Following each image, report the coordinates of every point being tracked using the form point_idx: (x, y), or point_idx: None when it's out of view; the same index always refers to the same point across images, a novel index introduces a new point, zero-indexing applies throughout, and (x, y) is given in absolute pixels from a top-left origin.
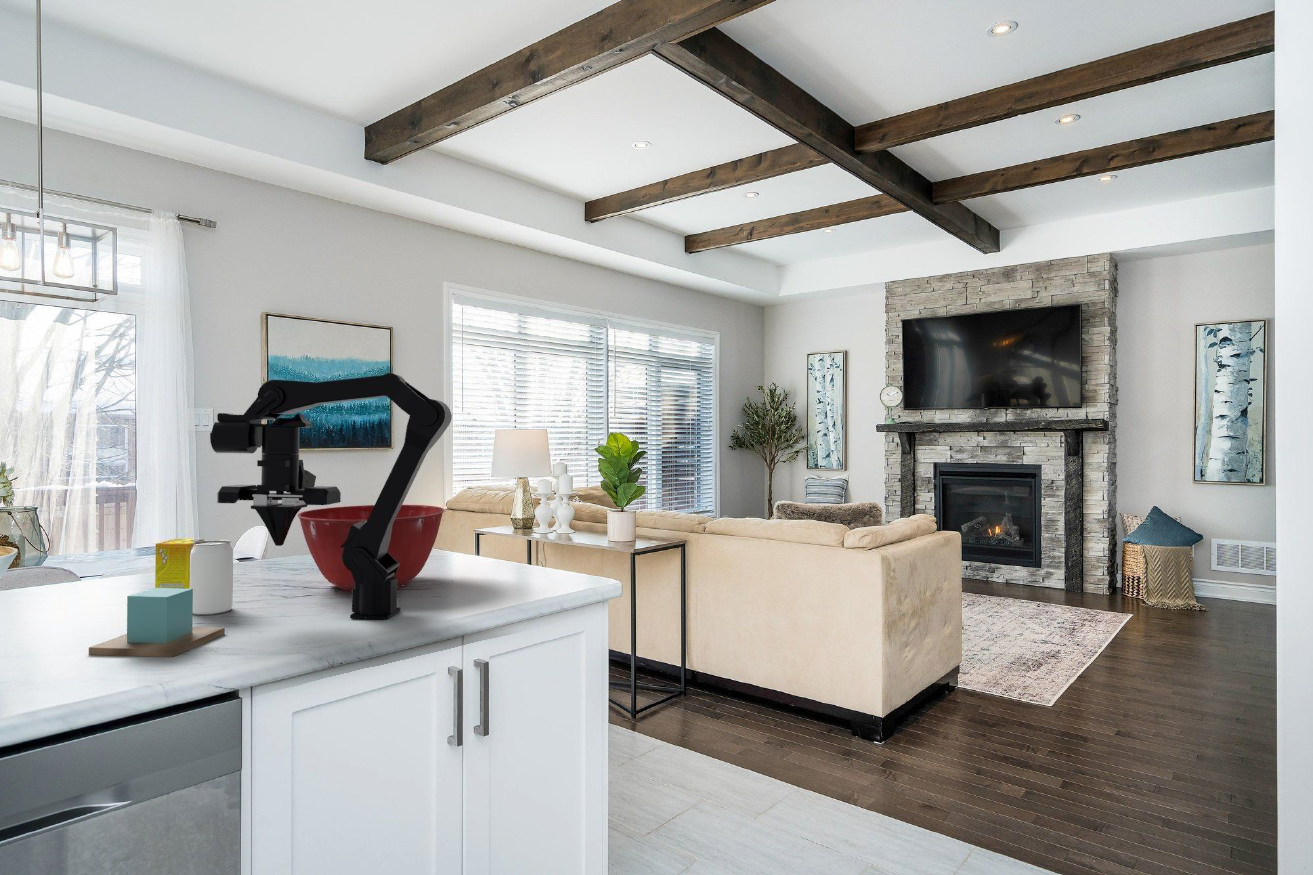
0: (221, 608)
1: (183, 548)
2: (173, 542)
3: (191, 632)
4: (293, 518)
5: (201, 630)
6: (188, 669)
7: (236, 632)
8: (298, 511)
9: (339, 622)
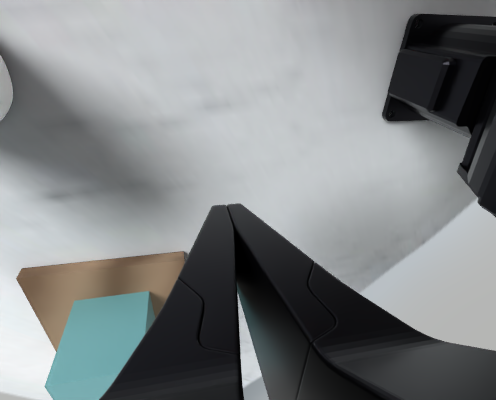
0: (7, 105)
1: None
2: None
3: (149, 292)
4: (371, 313)
5: (155, 280)
6: (244, 354)
7: (196, 238)
8: (471, 347)
9: (363, 145)
